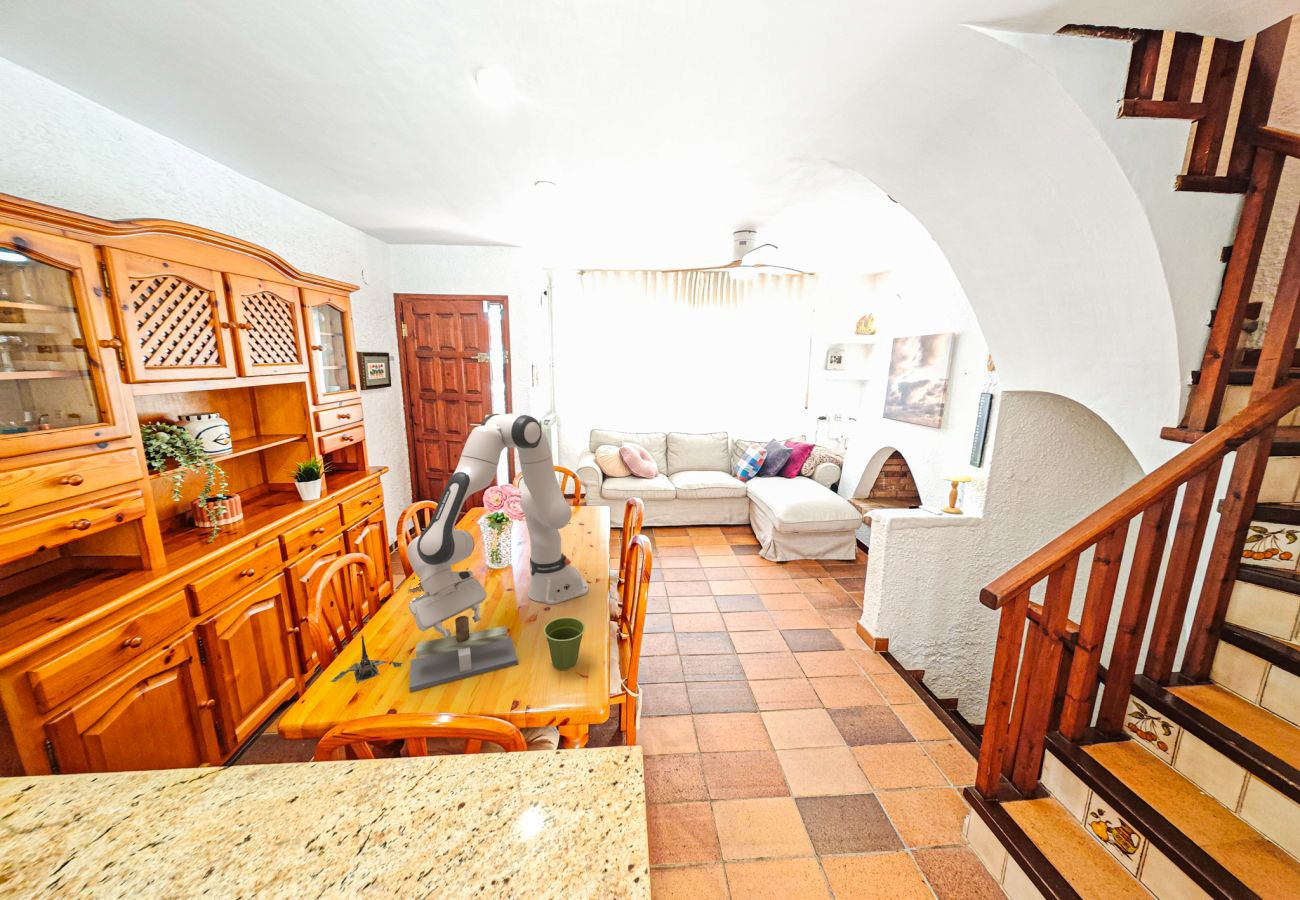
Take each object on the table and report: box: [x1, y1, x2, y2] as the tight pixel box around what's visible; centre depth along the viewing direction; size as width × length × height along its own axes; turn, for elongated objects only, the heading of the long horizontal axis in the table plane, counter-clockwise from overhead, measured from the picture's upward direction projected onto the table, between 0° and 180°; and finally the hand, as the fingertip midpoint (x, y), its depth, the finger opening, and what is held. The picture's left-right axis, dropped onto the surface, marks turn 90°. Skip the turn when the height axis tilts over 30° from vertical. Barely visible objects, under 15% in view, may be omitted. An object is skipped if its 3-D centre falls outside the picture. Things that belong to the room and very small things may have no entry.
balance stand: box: [408, 636, 519, 693], centre depth 132 cm, size 28×12×6 cm, turn 115°
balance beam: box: [415, 615, 509, 659], centre depth 131 cm, size 24×4×8 cm, turn 113°
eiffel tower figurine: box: [331, 634, 404, 684], centre depth 128 cm, size 15×10×13 cm
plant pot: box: [543, 616, 586, 671], centre depth 134 cm, size 12×12×11 cm
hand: (463, 628), depth 130 cm, fingers open, 8 cm apart
